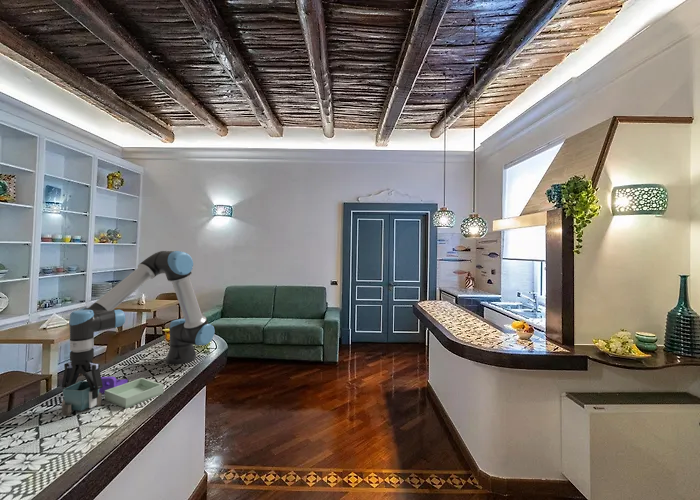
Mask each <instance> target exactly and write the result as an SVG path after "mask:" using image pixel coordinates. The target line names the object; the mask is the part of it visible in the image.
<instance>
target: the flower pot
mask: <svg viewBox="0 0 700 500" xmlns="http://www.w3.org/2000/svg"><path fill="white" fill-rule="evenodd" d="M99 390H100V389H98V394H99ZM89 391H91V389H90V387H89V385H88V382H87V380H80V381H78V382H76V383H75V384H74V385H71V386H69V387H67V388H65V387H64V388H62V394H63V400H64V401H65V402H66V403H67V404H71V411H79V412H80V411H84V410H86V409H88V408H89Z"/></svg>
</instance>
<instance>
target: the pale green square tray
mask: <svg viewBox="0 0 700 500" xmlns="http://www.w3.org/2000/svg"><path fill="white" fill-rule="evenodd" d="M163 394H164V384H162V383H160V382H156V381H153V380H149V379H147V378H144V377H140V378H138V379H134V380H132V381H128V382H127V383H125V384H122V385H119V386H117V387H114V388H111V389H108V390H105V393H104V401H106V402H109V403H111V404H113V405H116V406H119V407H121V408H123V409H128V408H132V407H133V406H135V405H138V404H141V403H144V402H146V401H148V400H151V399H154V398H155V397H156V398H157V397H159V396H160V395H163Z"/></svg>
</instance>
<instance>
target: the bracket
mask: <svg viewBox="0 0 700 500" xmlns="http://www.w3.org/2000/svg"><path fill="white" fill-rule="evenodd" d="M101 379H102V384H103V387H102V388H100V390H99V392H100V393H102V394H105V390H108V389H111V388H114V387H117V386H119V385H122V384H125V383H128V382H129V379H128V378H126V379H125V378H122V379H117V378H116V376H101Z"/></svg>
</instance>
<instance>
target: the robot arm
mask: <svg viewBox="0 0 700 500" xmlns="http://www.w3.org/2000/svg"><path fill="white" fill-rule="evenodd" d="M193 267H194V261H193V258H192V256H191V255H190V254H189V253H187V252H185V251H181V250H173V251H172V250H170V251H169V250H160V251H157V252H154V253H152V254H151V255H149V256H148V257H147V258H145V259H144V260H142V262H140V263H139V264H138V265H137V268H136V269H135V270H133V271H132V272H131V273H129V275H128V276H126V277H125V278H123V279H122V280H121V281H120V282H119V283H117V284H116V285H115V286H113V287H112V288H111V289H110V290H108V291H107V292H106V293H105V294H103V295H102V296H101V297H100V298H99V299H97V300H96V301H95V302H94V303H93V304H91V305H90V306H88V307H83V308H80V309H78V310H73V311H71V312H70V314H69V320H68V321H69V322H68V325H69V350H70V352H69V362H65V363H64V372H63V376H62V377H63V378H62V384H61V387H62V389H65V388H67V387H69V386H71V385H74V384H76V383H77V380H78V378H79V376H80V374H82V376H83V377H84V378H85V381H87V382H88V385H89V387H90V389H91V391H89V407H88V408H89V409H92V408H94V407H95V406H96V407H97V397H98V389H100V388H102V387H103V384H102V379H101V377H102V376H101V370H100V368H101V364H100V362H99V363H94V362H93V358H94V357H95V352H94V351H95V349H94V346H95V344H94V342H95V341H94V337H95V336H94V333H97V332H101V331H102V332H103V331H107V330H112V329H116V328H119V327H122V326H124V325H125V324H126V314H125V312H124V311H123V310H122V309H116V308H117V307H118V306H119V305H121V304H122V303H123V302H124V301H125V300H126V299H127V298H129V297H130V296H131V295H132V294H133V293H134V292H136V291H137V290H138V289H140V287H142V286H143V285H144V284H145V283H146V282H148V281H149V280H150V279H151V280H153V279H154V278H155V277H157V276H158V275H161V274H162V275H163V274H165V277H166V280H167V282H170V283H172V287H173V289H174V292H175V294H176V299H177V301H178V303H179V307H180V309H181V312H182V315H183V318H178V319H173V320H171V321H170V323H169V349H168V352H167V355H166V358H165V359H166V360H165V362H166V364H170V365H171V364H172V365H181V364H186V363H189V362H190V363H191V362H192V361H195V360H196V359H197V353H196V350H195V347H194V345H195V346H207V345H208V344H209V343H211V341H213V338H214V336H215V333H216V332H215V327H214V325H212V324H211V323H208V319H207V317H206V316H204V315H203V313H202V311H201V309H200V305H199V301H198V299H197V295H196V291H195V290H194V286H193V283H192V280H191V278H190V277H191V275H192V271H193Z"/></svg>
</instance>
